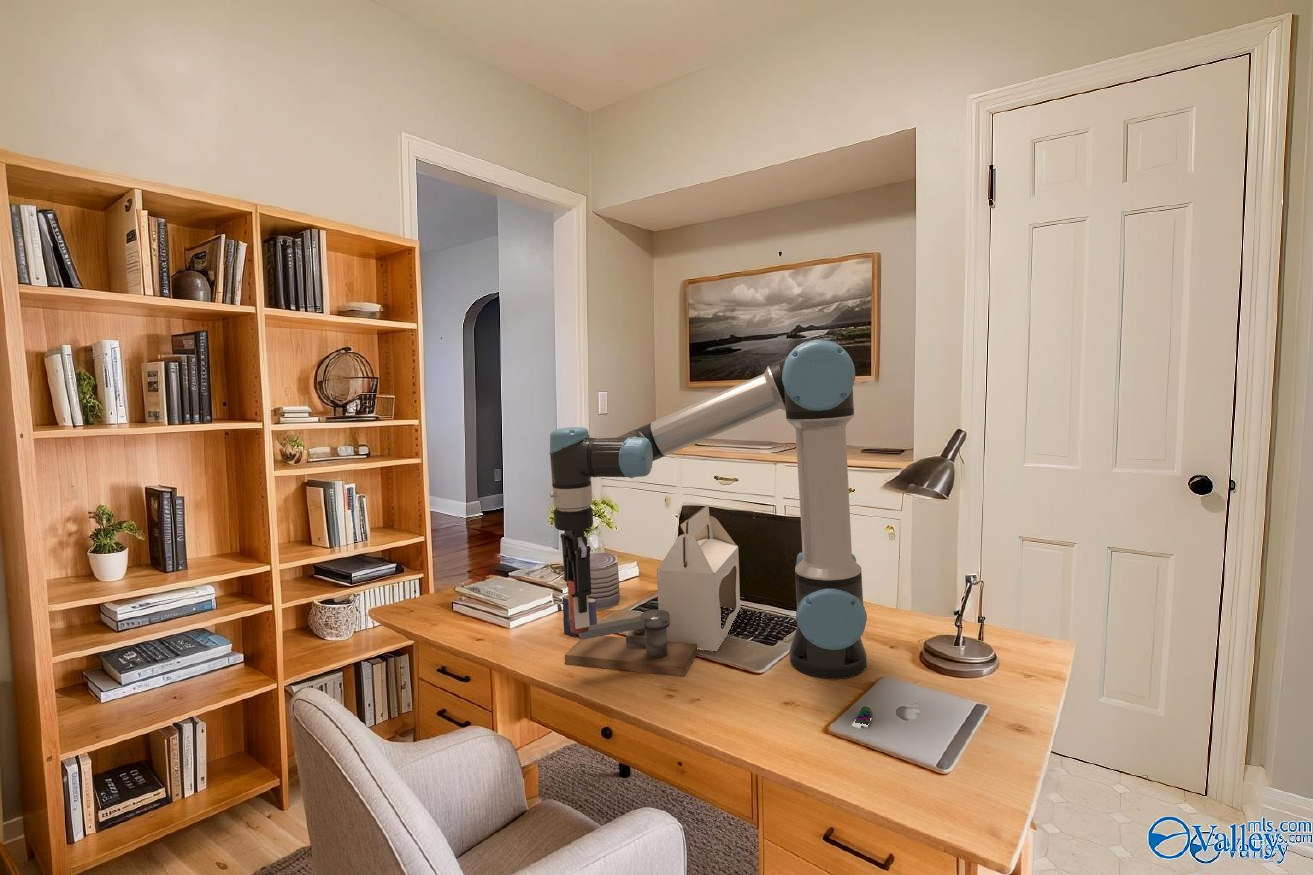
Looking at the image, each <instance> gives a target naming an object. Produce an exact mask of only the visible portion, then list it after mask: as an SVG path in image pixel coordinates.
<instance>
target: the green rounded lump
mask: <svg viewBox="0 0 1313 875" xmlns="http://www.w3.org/2000/svg"><path fill="white" fill-rule="evenodd" d="M871 717H872V718H873V710H872V709H871V708H870V707H869V706H862V707H861V708H860V710H859V714H858V715H857V717H856V718H857V719H856V718H855V719H856V721H855V723H860V724H862V723H863V724H866V725H868V724H869V721H870V718H871Z"/></svg>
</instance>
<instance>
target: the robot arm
mask: <svg viewBox="0 0 1313 875" xmlns="http://www.w3.org/2000/svg"><path fill="white" fill-rule="evenodd" d="M855 380H856V368H855V365H854V362H853V359H852V358H851V356H850V354H849V353H848V352H847V350H845V348H843V346H841V345H840V344H837V343H836V342H834V341H831V340H827V339H813V340H807V341H804V342H802V343H800V344H799V345H797V346H795V347H794V348H793V349H792V351H790V352H789V353H788V355H787V356H786V357H784V358H782V359H781V360H779V361H777V362H775V363H773V364H770V365H768V366H767V367H766V369H765V371H764V373H762V374H760V375H758V376H755V377H754V378H750V379H749V380H747V381H743V382H741V383H739V384H737V385H735V386H732V387H730V388H727V389H725V390H723V391H721V392H719V393H718V392H717V393H716V394H714V395H712V396H709V397H707V398H704V399H703V400H700V401H697V402H696V403H693V404H691V405H688V406H686V407H684V408H682V409H680V410H679V409H678V410H677V411H675V412H672V413H670V414H668V415H665V416H663V417H661V418H659V419H655V421H654V420H653V421H651V422H650V423H647V424H645V425H643V426H640V427H638V428H634V429H632V430H630V431H628V432H627V433H625V434H622V435H618V436H617V437H599V438H597V437H590V434H589V429H588V428H586V427H584V426H583V427H581V426H580V427H579V426H576V427H575V426H573V427H572V426H571V427H559V428H555V429H553V430H552V431H551V432H550V435H549V456H550V459H549V460H550V471H551V481H552V482H551V486H552V491H553V492H550V493H549V496H550V498H553V499H552V501H553V502H552V503H553V507H554V508H555V509H554V510H553V523H554V528H555V529H556V530H559V531H562V533H560V540H561V549H562V560H563V562H562V563H563V576H564V578H563V580H564V582H565V583H566V587H567V588H568V580H570V579H574V589H575V594H571V596H572V598H574V615H575V628H576V629H579V628H585V627H590V624H589V605H588V595H591V574H590V554H591V550H592V549H591V546H590V545H588V537H587V536H586V535H585V530H586V529H590V528H591V527H592V526H593V525H594V514H593V513H594V512H593V508H592V507H591V506H592V504H593V502H594V501H593V494H592V493H593V492H592V490H593V488H592V487H593V486H592V478H629V479H634V478H641V477H642V478H643V477H647V476H648V475H649V474H651V471H652V468H653V463H654V461H657V460H659V459H661V458H664V457H666V456H669V455H670V454H673V453H675V452H679V451H680V450H683V449H685V448H688V447H691V446H693V445H695V444H697V443H700V442H702V441H705V440H707V439H709V438H712V437H714V436H717V435H719V434H721V433H724V432H727V431H729V430H731V429H733V428H736V427H738V426H741V425H743V424H744V425H745V424H746V423H748V422H751V421H753V420H755V419H758V418H761V417H763V416H765V415H768V414H770V413H772V412H775V411H778V410H781V411H784V412H785V418H786V421H787V422H788V423H789V424H790V425H792V426H793V427H794V429H795V444H796V462H797V479H798V494H799V496H798V499H799V514H800V533H801V548H802V551H801V552H799V553H798V554H797V556H796V563H795V567H794V568H795V569H794V575H795V592H796V593H795V596H796V612H795V618H796V623H797V625H796V629H795V632H794V635H793V638H792V641H791V644H790V648H789V661H790V664H791V665H792V667H793V668H794V669H796V670H797V671H799V672H801V673H803V674H806V675H808V676H812V677H816V678H821V679H830V680H831V679H847V678H851V677H854V676H857V675H860V674H862V673H863V672H864V671H865V670H866V668H867V652H866V649H865V646H864V643H863V641H862V638H861V637H862V635H863V634H864V632H865V630H866V626H867V620H868V619H867V617H868V616H867V614H868V613H867V610H866V608H865V606H864V596H863V592H864V591H863V576H862V575H863V574H862V566H861V565H860V564H859V563H857V559H856V558H857V557H856V556H855V555H854V553H853V550H852V531H851V530H852V529H851V511H850V508H851V507H850V491H849V490H850V489H849V488H850V486H849V473H848V472H849V469H848V452H847V451H848V449H847V429H846V428H847V425H848V423H849V422H850V421H851V420H852V419H853V418H854V417H855V411H854V410H855V409H854V405H855V404H854V385H855ZM567 595H568V594H567ZM568 601H569V595H568ZM569 618H570V612H569Z"/></svg>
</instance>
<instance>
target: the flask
mask: <svg viewBox="0 0 1313 875" xmlns="http://www.w3.org/2000/svg"><path fill="white" fill-rule="evenodd" d="M561 600H562V614H563V621H562V623H563V634H564V635H566V636H569V637H572V638H578V639H581V638H580V637H579V633H572V632H571V629H570V618H569V601H568V594H565V595H563V596H562V599H561ZM588 605H589V624H590V625H596V624H598V617H597V610H596V600H595V599H588Z"/></svg>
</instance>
